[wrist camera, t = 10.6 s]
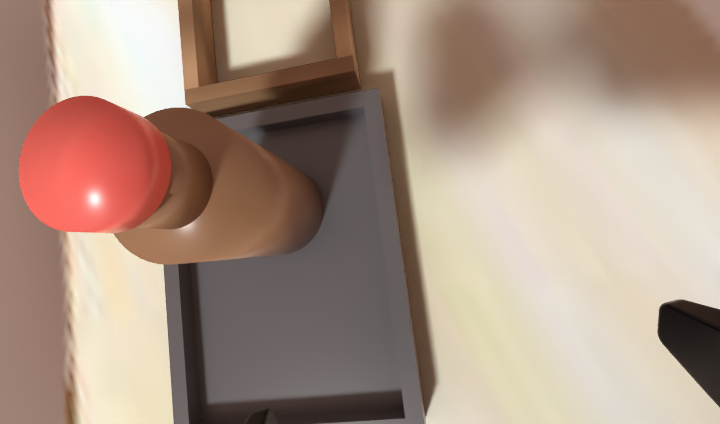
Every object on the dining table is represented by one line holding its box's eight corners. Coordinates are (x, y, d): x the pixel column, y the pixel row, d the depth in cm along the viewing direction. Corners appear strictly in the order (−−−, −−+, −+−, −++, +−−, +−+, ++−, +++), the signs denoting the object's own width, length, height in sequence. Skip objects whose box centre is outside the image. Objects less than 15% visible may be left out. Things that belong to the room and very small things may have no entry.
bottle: (328, 248, 18) (185, 257, 7) (243, 260, 19) (-11, 286, 8) (317, 159, 19) (167, 36, 8) (234, 173, 20) (-17, 81, 8)
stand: (360, 88, 20) (354, 70, 18) (207, 117, 21) (185, 104, 19) (340, -63, 21) (332, -95, 19) (195, -26, 22) (173, -52, 20)
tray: (425, 417, 18) (426, 436, 16) (197, 431, 20) (175, 450, 18) (381, 102, 20) (377, 87, 18) (176, 140, 21) (155, 130, 20)
